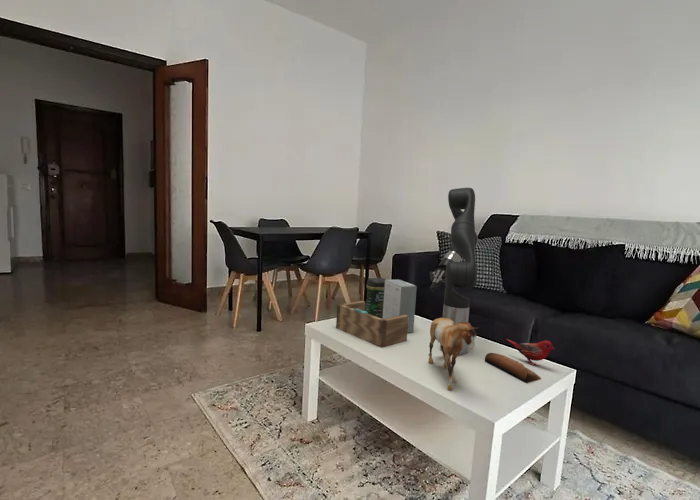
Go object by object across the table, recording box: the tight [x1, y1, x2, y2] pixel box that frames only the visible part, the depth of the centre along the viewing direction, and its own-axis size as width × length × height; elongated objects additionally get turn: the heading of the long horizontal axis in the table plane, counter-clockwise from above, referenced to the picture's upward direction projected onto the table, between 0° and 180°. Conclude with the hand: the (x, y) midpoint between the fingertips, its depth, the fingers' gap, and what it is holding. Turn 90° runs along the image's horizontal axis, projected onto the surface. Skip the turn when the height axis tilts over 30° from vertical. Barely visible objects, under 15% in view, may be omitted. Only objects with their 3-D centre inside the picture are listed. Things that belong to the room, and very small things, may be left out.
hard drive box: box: [381, 279, 418, 334], centre depth 173 cm, size 16×8×20 cm, turn 22°
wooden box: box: [335, 300, 408, 348], centre depth 163 cm, size 27×14×11 cm, turn 40°
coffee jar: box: [365, 277, 387, 319], centre depth 188 cm, size 10×8×19 cm
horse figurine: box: [428, 317, 479, 391], centre depth 127 cm, size 31×8×21 cm, turn 2°
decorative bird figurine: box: [505, 338, 555, 367], centre depth 142 cm, size 3×18×10 cm, turn 39°
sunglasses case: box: [484, 352, 542, 383], centre depth 134 cm, size 18×7×7 cm, turn 25°
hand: (431, 290), depth 186 cm, fingers closed
